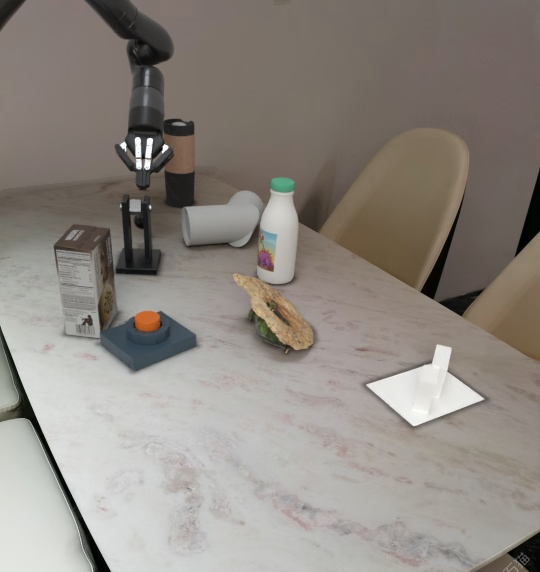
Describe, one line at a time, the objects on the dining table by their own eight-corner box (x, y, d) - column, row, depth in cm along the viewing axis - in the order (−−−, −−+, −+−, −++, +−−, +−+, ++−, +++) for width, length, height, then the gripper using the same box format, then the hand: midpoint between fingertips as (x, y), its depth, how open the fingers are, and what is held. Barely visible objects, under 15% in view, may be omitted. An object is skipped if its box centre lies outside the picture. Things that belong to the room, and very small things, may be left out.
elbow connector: (255, 255, 128) (271, 222, 144) (247, 207, 122) (264, 179, 139) (178, 260, 132) (202, 228, 148) (166, 214, 127) (193, 186, 143)
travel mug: (170, 208, 151) (168, 126, 140) (161, 198, 157) (159, 118, 146) (198, 206, 154) (199, 125, 143) (189, 196, 160) (189, 117, 148)
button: (144, 335, 94) (143, 325, 93) (130, 324, 96) (129, 315, 96) (165, 327, 97) (165, 318, 96) (151, 317, 99) (150, 308, 98)
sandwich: (316, 366, 108) (339, 337, 104) (261, 379, 97) (285, 347, 93) (261, 297, 115) (281, 267, 110) (204, 302, 104) (224, 269, 100)
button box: (134, 371, 92) (133, 349, 90) (100, 343, 98) (98, 322, 96) (196, 345, 99) (196, 325, 97) (161, 321, 105) (160, 301, 103)
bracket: (123, 252, 127) (118, 189, 120) (160, 254, 128) (158, 191, 120) (116, 273, 119) (110, 206, 111) (156, 274, 120) (154, 208, 112)
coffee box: (83, 308, 107) (73, 222, 98) (118, 312, 106) (111, 226, 97) (64, 335, 99) (51, 244, 90) (102, 339, 99) (92, 248, 90)
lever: (134, 230, 128) (135, 214, 129) (151, 231, 129) (151, 214, 129) (125, 214, 115) (126, 195, 115) (144, 215, 116) (144, 196, 116)
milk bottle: (289, 268, 127) (298, 174, 116) (297, 285, 121) (307, 187, 109) (253, 268, 125) (259, 173, 114) (259, 285, 119) (266, 186, 108)
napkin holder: (433, 361, 100) (441, 332, 97) (485, 398, 93) (496, 368, 89) (364, 385, 93) (370, 354, 90) (414, 427, 86) (423, 395, 82)
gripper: (112, 102, 125) (107, 178, 122) (176, 106, 126) (173, 181, 123) (118, 122, 132) (113, 195, 129) (178, 126, 134) (175, 198, 130)
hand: (142, 188), depth 126 cm, fingers closed
